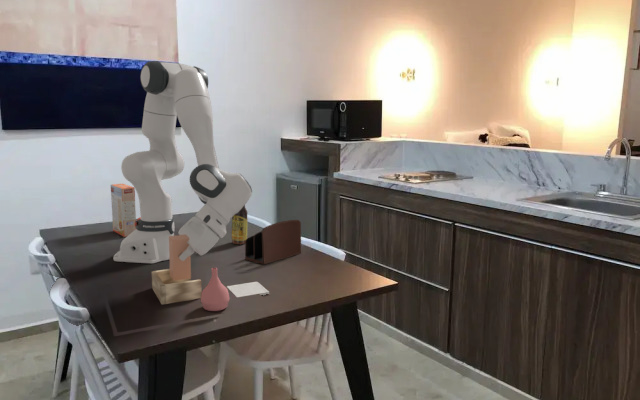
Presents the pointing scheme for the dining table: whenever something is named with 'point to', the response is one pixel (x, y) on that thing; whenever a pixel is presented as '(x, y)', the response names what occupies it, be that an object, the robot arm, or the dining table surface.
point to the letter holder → (274, 242)
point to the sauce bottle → (239, 227)
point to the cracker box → (123, 209)
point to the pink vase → (215, 294)
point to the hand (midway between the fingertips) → (177, 256)
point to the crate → (174, 288)
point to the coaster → (248, 289)
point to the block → (178, 266)
